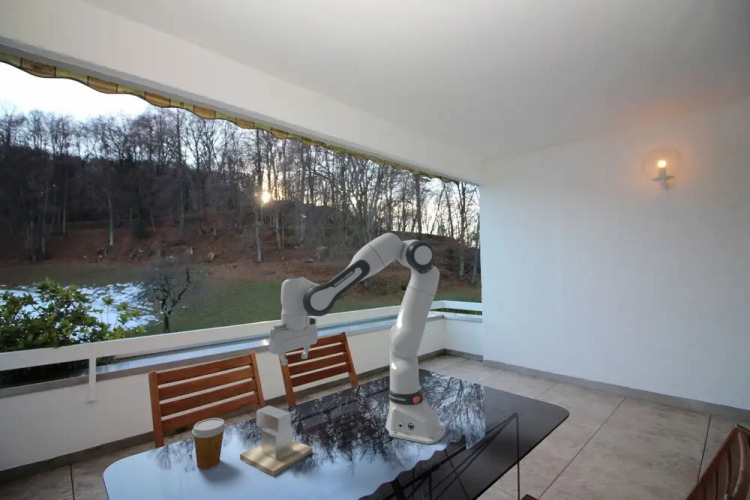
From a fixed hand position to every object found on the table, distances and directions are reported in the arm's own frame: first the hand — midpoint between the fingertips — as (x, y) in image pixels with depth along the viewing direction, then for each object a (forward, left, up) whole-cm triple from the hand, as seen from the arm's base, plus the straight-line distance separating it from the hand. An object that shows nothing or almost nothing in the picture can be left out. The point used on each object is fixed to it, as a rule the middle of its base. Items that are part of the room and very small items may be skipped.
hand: (294, 361), depth 123 cm
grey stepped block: (0, +9, -26) cm, 28 cm away
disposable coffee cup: (+12, +25, -28) cm, 39 cm away
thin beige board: (-2, +10, -28) cm, 29 cm away
